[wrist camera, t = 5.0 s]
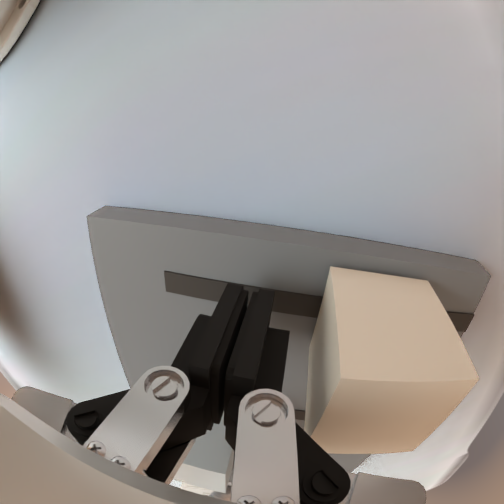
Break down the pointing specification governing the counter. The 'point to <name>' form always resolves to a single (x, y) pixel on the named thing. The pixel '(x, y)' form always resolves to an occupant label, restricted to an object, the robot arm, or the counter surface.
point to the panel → (244, 283)
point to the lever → (222, 494)
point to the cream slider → (382, 364)
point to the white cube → (208, 461)
